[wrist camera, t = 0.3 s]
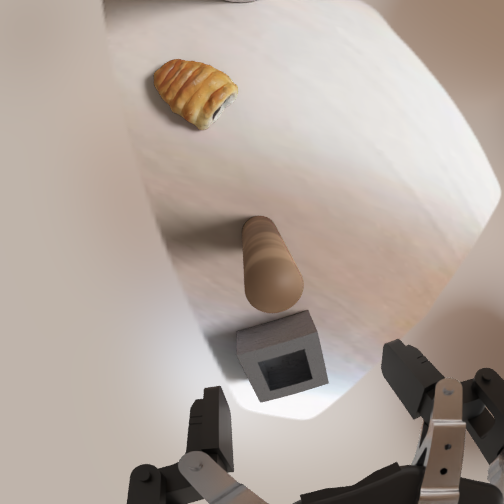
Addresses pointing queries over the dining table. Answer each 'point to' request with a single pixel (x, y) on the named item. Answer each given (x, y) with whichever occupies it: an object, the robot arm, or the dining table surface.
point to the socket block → (282, 356)
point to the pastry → (195, 91)
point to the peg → (269, 268)
